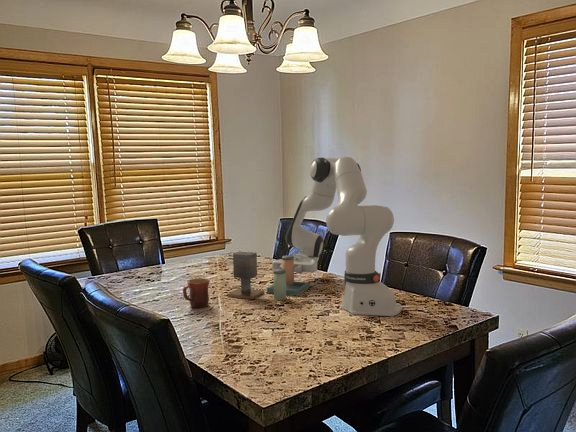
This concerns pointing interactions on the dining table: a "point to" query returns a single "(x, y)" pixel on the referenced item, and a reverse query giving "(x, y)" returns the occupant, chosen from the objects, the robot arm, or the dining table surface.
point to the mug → (197, 292)
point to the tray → (292, 288)
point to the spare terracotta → (288, 268)
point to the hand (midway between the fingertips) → (287, 269)
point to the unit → (245, 275)
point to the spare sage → (279, 284)
